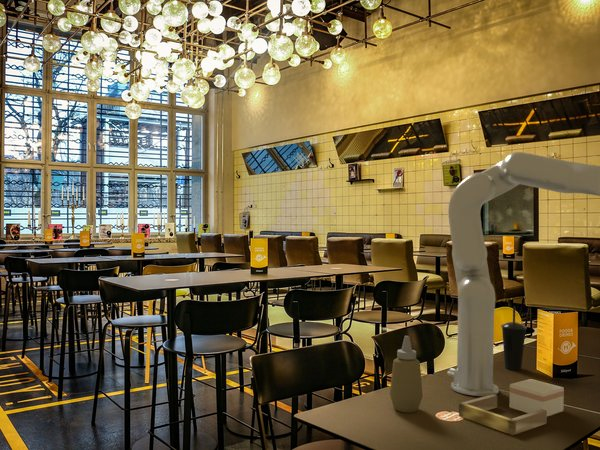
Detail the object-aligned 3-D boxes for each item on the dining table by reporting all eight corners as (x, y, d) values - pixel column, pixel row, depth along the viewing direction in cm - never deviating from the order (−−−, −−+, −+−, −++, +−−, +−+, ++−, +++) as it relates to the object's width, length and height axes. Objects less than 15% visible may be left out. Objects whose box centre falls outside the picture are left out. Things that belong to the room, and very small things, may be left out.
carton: (509, 407, 139) (509, 384, 139) (530, 401, 145) (530, 378, 144) (542, 418, 132) (543, 393, 132) (563, 411, 137) (564, 387, 137)
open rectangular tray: (458, 415, 132) (459, 403, 132) (492, 406, 140) (493, 394, 140) (512, 435, 120) (512, 421, 120) (546, 423, 128) (546, 410, 128)
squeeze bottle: (382, 405, 138) (384, 334, 138) (410, 402, 142) (411, 332, 142) (401, 416, 131) (402, 340, 131) (429, 412, 134) (430, 338, 134)
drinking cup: (529, 372, 173) (531, 308, 173) (505, 371, 173) (506, 307, 173) (520, 365, 181) (521, 304, 181) (497, 365, 181) (498, 304, 181)
